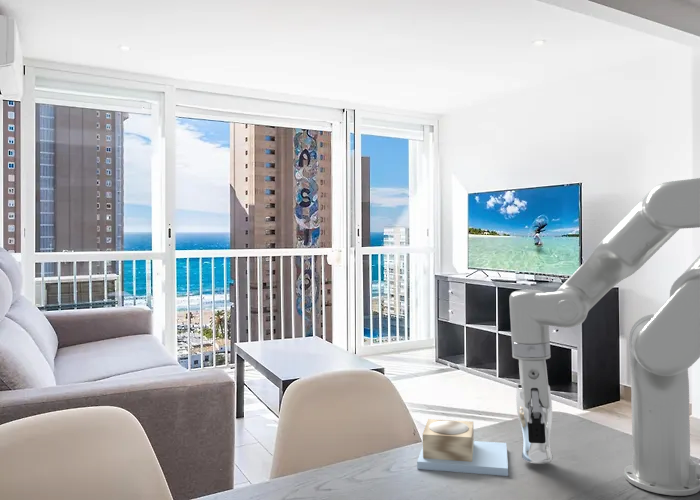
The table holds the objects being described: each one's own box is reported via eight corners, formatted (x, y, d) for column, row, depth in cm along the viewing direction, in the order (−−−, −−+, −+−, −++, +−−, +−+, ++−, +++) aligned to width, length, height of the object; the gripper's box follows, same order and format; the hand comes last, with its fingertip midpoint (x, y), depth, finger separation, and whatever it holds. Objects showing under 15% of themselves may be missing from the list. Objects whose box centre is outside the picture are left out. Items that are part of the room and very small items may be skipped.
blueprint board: (506, 449, 120) (506, 442, 120) (508, 476, 107) (508, 468, 107) (425, 444, 125) (425, 437, 125) (417, 468, 111) (417, 461, 111)
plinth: (473, 444, 120) (473, 420, 120) (472, 461, 110) (471, 436, 110) (428, 441, 123) (428, 418, 123) (423, 458, 113) (422, 433, 113)
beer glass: (558, 465, 108) (553, 390, 108) (521, 464, 109) (517, 390, 109) (552, 452, 115) (548, 381, 115) (518, 451, 116) (513, 382, 116)
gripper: (554, 358, 103) (560, 452, 103) (546, 342, 119) (550, 423, 119) (513, 358, 105) (518, 451, 104) (510, 342, 121) (515, 422, 121)
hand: (535, 435), depth 112 cm, fingers closed on beer glass, 6 cm apart
